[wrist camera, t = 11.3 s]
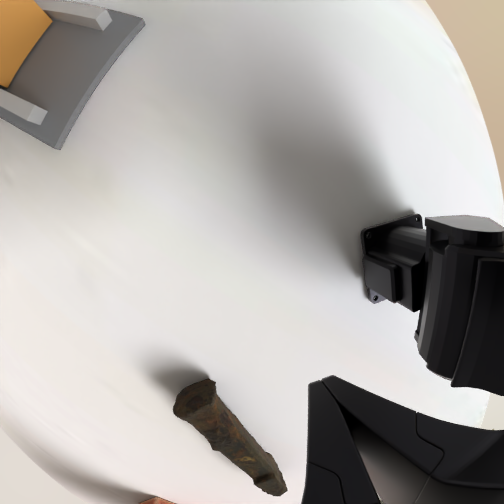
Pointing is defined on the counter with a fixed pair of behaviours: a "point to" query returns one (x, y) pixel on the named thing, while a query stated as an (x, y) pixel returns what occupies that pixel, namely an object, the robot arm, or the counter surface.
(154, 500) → the brown case
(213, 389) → the hand tool
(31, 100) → the base
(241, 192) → the counter surface
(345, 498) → the robot arm
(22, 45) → the handle
